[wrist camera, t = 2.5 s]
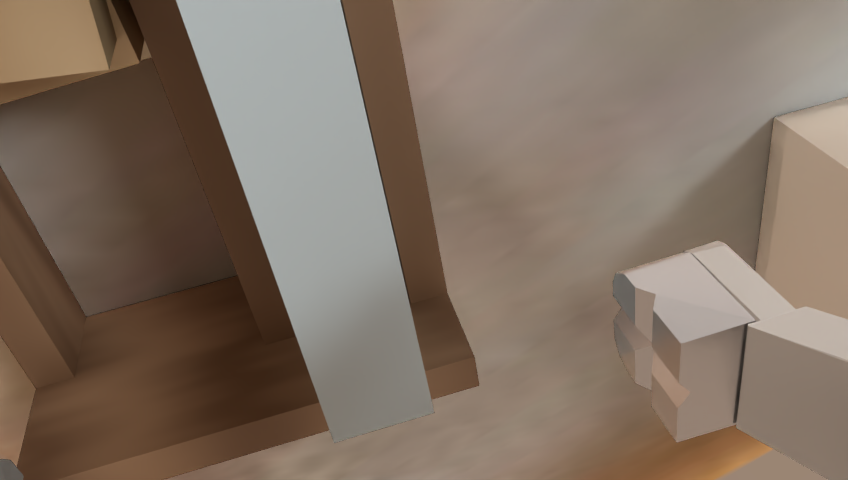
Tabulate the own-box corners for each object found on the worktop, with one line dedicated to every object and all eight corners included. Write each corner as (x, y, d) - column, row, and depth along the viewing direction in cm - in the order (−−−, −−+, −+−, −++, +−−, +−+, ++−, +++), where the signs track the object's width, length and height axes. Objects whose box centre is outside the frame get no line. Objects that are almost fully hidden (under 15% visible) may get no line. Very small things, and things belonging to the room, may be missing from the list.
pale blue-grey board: (243, -279, 18) (277, -274, 10) (363, 202, 27) (434, 413, 19) (139, -258, 18) (92, -236, 10) (293, 221, 26) (334, 443, 18)
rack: (283, -441, 17) (324, -519, 11) (423, 252, 28) (479, 385, 23) (-349, -326, 16) (-658, -349, 10) (66, 351, 27) (30, 518, 21)
